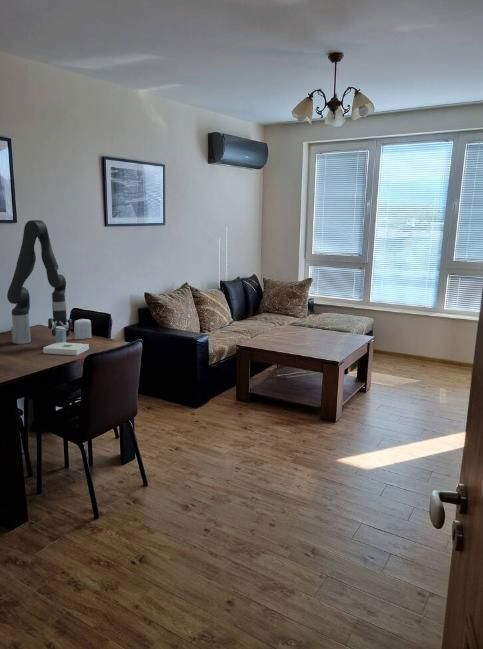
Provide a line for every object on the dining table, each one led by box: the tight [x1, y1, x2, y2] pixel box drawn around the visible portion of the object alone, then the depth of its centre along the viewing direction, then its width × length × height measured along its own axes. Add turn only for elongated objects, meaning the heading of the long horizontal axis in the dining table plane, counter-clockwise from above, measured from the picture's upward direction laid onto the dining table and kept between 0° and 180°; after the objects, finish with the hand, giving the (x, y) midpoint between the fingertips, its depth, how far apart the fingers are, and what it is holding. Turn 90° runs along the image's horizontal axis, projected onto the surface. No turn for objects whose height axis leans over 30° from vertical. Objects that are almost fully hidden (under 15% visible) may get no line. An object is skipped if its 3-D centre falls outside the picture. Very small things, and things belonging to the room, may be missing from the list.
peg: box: [55, 329, 67, 343], centre depth 282 cm, size 4×4×9 cm
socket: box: [42, 341, 90, 356], centre depth 270 cm, size 20×14×3 cm
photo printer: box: [73, 318, 92, 340], centre depth 300 cm, size 10×4×12 cm, turn 123°
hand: (61, 336), depth 282 cm, fingers open, 8 cm apart
